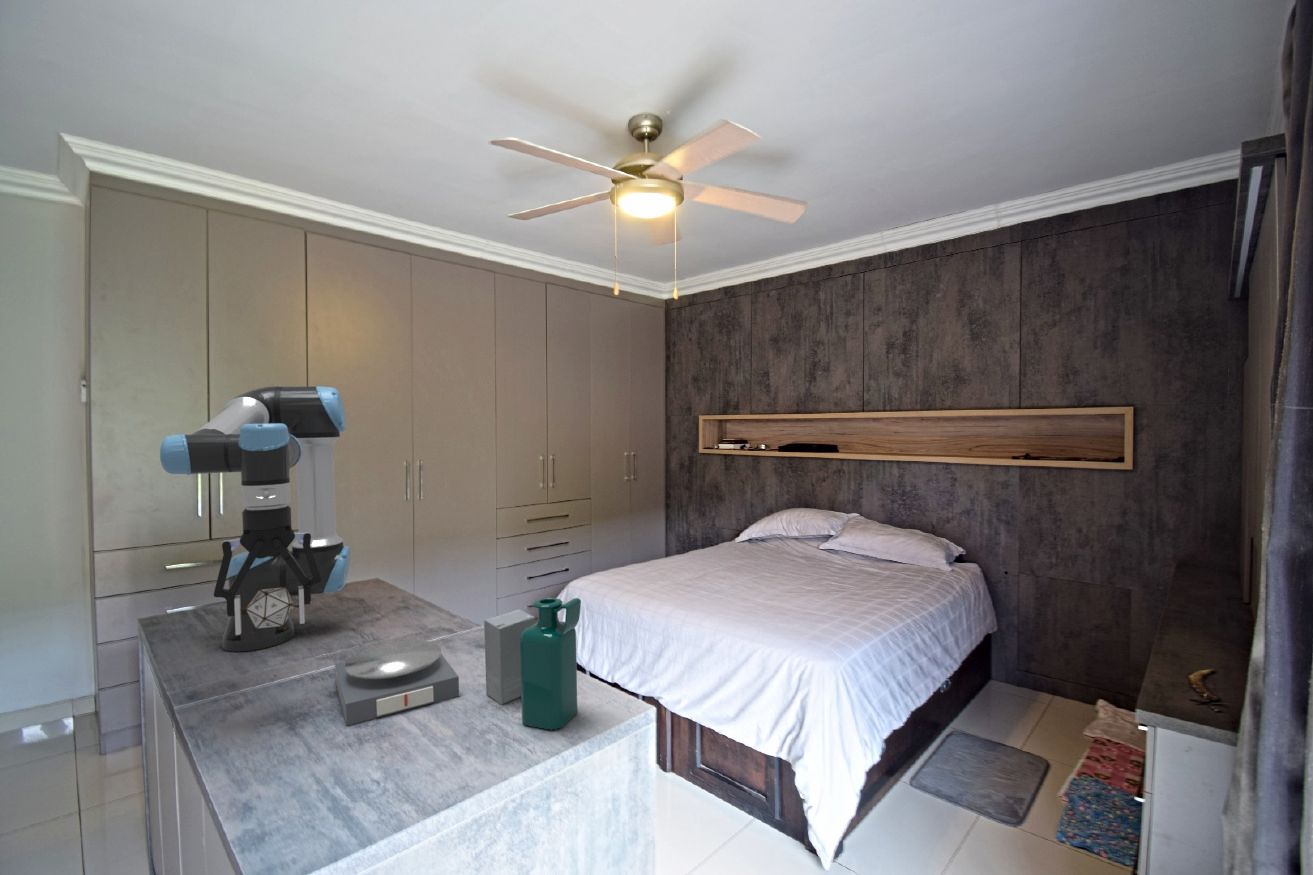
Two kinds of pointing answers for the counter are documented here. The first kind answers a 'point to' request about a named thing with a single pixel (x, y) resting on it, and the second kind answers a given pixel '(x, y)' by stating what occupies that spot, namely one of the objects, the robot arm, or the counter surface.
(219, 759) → the counter surface
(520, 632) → the skincare box
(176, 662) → the counter surface
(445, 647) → the counter surface
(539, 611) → the pitcher
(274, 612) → the game die
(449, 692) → the scale
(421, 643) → the pan
